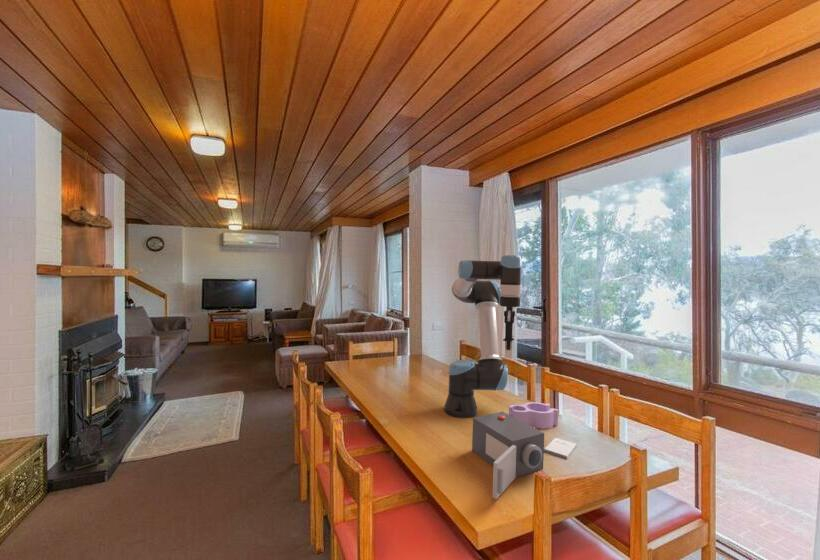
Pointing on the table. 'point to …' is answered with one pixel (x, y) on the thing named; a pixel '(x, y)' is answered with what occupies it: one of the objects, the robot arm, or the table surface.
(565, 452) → the external hard drive
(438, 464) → the table surface
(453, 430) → the table surface
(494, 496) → the side door
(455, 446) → the table surface
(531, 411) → the clip
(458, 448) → the table surface
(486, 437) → the camera housing
